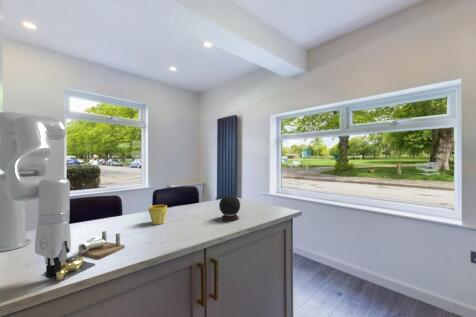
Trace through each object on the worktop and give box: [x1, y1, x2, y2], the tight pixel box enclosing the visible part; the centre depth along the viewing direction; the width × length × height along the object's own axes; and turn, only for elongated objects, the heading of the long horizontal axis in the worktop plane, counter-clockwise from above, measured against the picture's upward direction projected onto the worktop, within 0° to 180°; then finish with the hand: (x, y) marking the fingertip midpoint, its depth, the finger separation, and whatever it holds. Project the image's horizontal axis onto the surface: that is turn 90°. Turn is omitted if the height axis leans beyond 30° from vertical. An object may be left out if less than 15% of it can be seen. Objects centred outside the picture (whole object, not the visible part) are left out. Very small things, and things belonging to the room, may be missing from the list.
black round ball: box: [218, 194, 241, 222], centre depth 137 cm, size 13×13×15 cm
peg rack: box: [77, 230, 126, 260], centre depth 89 cm, size 12×11×6 cm
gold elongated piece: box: [56, 255, 84, 281], centre depth 72 cm, size 7×12×3 cm, turn 18°
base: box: [43, 260, 96, 281], centre depth 74 cm, size 10×10×1 cm
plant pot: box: [148, 204, 168, 226], centre depth 128 cm, size 10×10×10 cm
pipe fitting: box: [77, 236, 107, 253], centre depth 88 cm, size 8×4×7 cm
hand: (53, 275), depth 68 cm, fingers closed
